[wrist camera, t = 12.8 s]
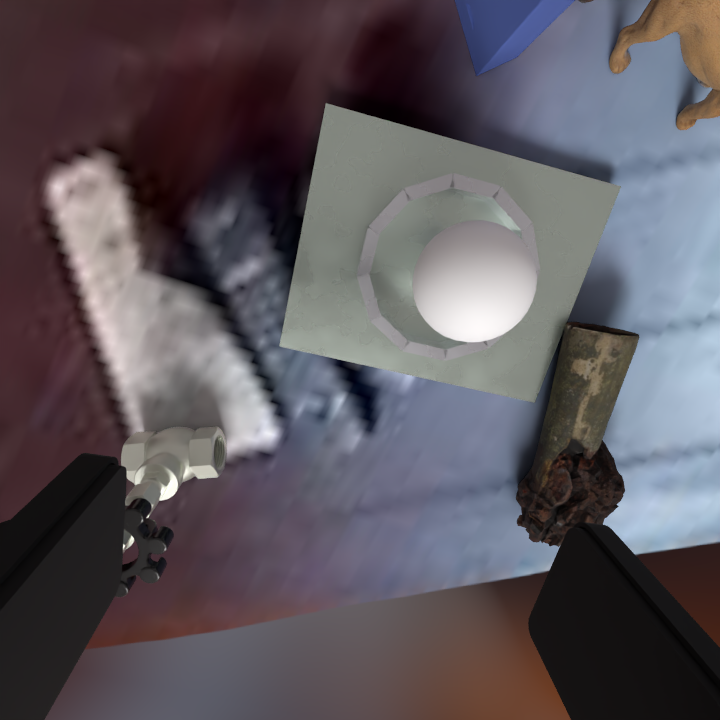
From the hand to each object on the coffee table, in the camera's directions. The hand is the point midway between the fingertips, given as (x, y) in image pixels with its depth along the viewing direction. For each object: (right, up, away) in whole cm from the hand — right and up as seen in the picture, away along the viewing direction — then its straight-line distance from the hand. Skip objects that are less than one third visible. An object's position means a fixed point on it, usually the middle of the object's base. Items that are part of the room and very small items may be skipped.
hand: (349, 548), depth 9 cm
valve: (-14, -3, +25) cm, 29 cm away
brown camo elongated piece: (+17, -2, +26) cm, 31 cm away
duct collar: (+6, +11, +21) cm, 25 cm away
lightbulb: (+6, +10, +20) cm, 24 cm away
